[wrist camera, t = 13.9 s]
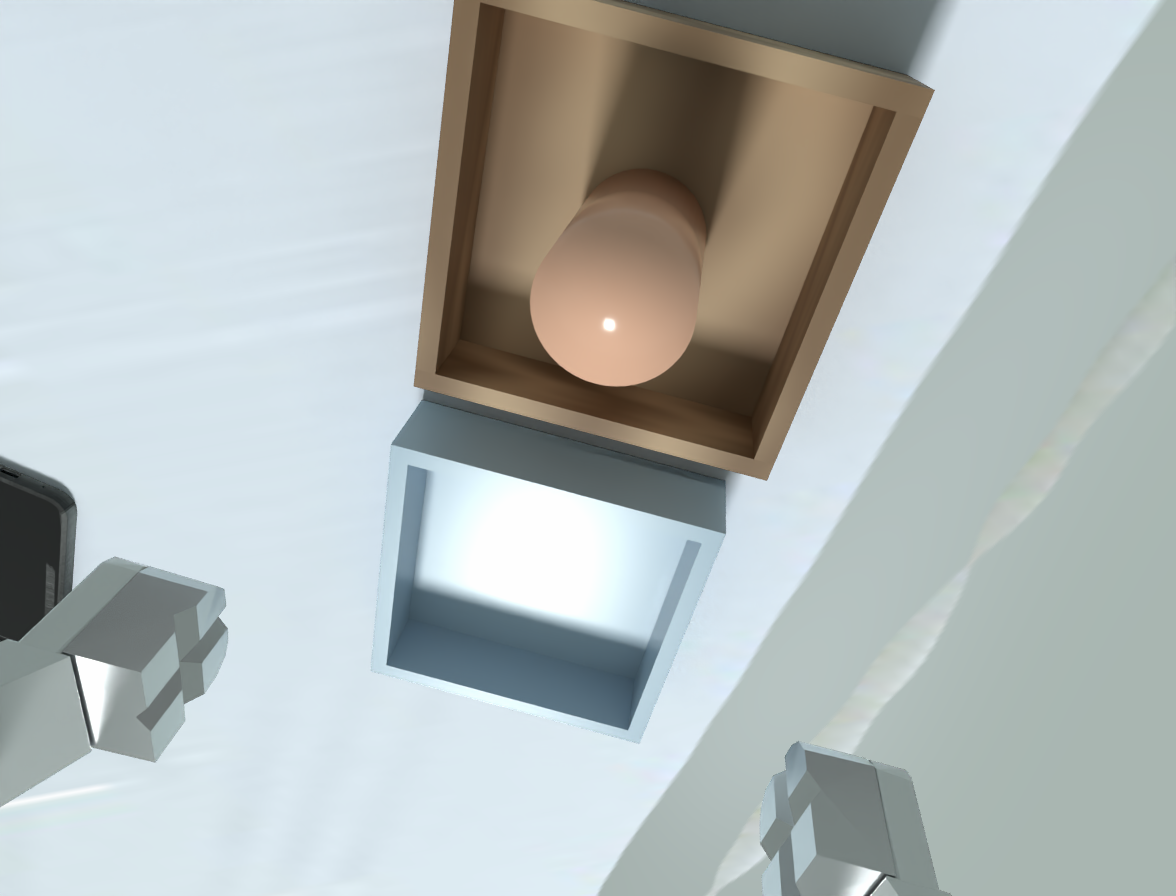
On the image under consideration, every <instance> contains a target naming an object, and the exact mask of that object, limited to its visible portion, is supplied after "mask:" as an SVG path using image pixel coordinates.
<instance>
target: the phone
mask: <svg viewBox="0 0 1176 896" xmlns="http://www.w3.org/2000/svg"><path fill="white" fill-rule="evenodd" d="M2 470H5V471H8V472H10V473H12V474H15V475H17V476H19V477H18V478H14V477H12V476H10V475H7V474H5V473H3V472H0V642H1V641H4V640H6V639H9V640H13V641H17V642H19V641H20V640H21V639H22V638H23V637H24V636H25V635H26V634H27V633H28V632H29V631H30V630H31V629H32V628H33V627H34V626H35V625H37V624H38V623H39V622H40V621H41V620H42V619H43V618H44V617H45V616H46V615H47V614H48V613H49V612H50V611H51V610H52V609H53V608H54V607H55V606H56V605H58V604H59V603H60V602H61V601H62V600H63V599H64V598H65V597H66V596H67V595H68V594H69V593H70V592H71V591H72V582H73V567H74V552H75V537H76V522H77V507H76V505H75V503H74V501H73V500H72V499H71V498H70V497H69V496H68V495H67V494H66V493H65V492H63V491H61V490H59V489H57V488H55V487H53V486H50V485H48V484H46V483H43V482H41V481H38V480H36V479H34V478H31V477H29V476H27V475H24V474H22V473H19V472H17V471H15V470H12V469H10V468H8V467H5V466H3V465H0V471H2ZM42 486H44V488H43V487H42Z"/></svg>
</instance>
